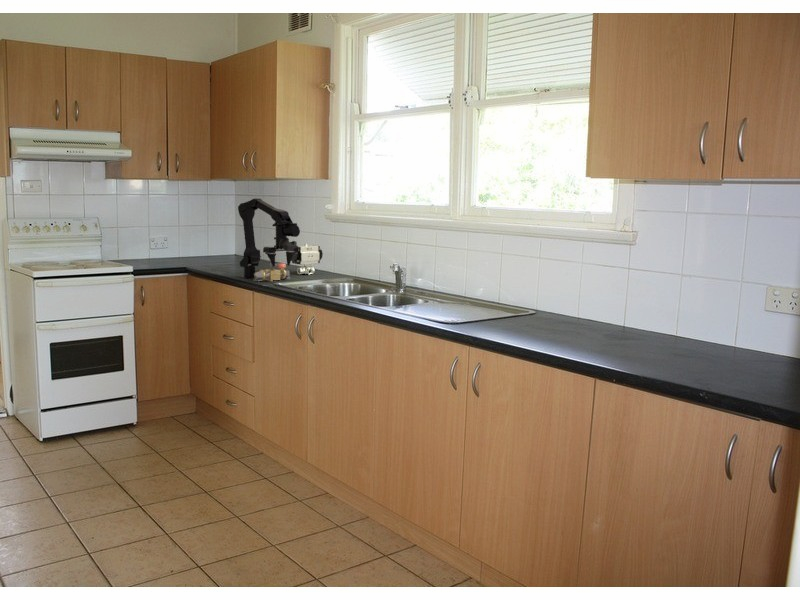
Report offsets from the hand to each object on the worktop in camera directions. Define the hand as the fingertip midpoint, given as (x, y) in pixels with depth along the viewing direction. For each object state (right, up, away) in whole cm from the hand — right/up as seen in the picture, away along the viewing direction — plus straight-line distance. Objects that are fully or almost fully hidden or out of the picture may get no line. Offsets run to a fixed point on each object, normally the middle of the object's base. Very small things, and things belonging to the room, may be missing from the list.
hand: (281, 266), depth 371 cm
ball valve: (+9, -4, +33) cm, 34 cm away
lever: (-3, -2, +3) cm, 4 cm away
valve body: (-6, -7, +7) cm, 11 cm away
